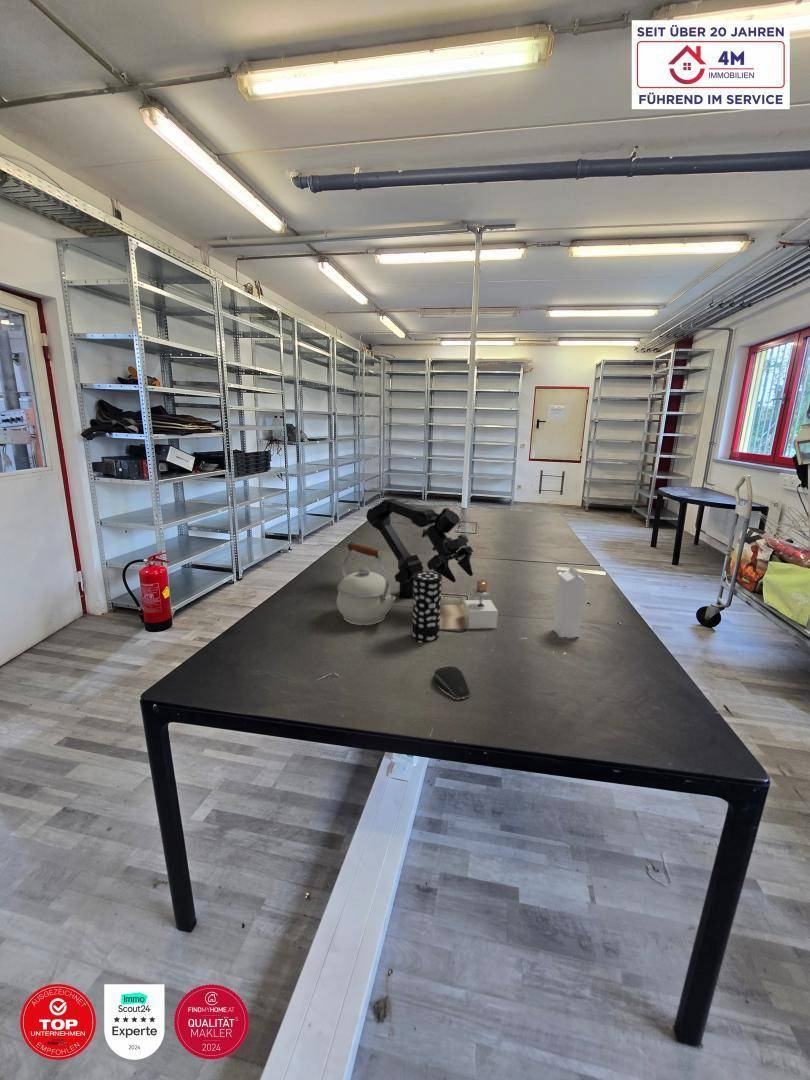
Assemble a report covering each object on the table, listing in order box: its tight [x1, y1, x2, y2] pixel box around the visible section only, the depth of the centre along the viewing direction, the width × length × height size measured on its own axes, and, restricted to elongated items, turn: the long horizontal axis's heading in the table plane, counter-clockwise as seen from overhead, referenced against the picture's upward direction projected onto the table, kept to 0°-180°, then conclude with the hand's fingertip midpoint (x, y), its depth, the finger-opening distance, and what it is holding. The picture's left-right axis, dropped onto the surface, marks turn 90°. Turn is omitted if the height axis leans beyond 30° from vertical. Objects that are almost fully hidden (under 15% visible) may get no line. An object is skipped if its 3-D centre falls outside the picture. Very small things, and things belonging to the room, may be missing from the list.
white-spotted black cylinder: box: [411, 570, 443, 644], centre depth 133 cm, size 8×8×20 cm
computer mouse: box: [433, 666, 471, 698], centre depth 110 cm, size 7×12×4 cm, turn 24°
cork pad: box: [439, 604, 480, 630], centre depth 150 cm, size 19×19×1 cm
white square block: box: [463, 599, 499, 629], centre depth 145 cm, size 9×9×6 cm
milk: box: [552, 565, 587, 638], centre depth 137 cm, size 6×6×22 cm
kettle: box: [336, 541, 396, 626], centre depth 145 cm, size 25×18×25 cm
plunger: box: [473, 580, 491, 607], centre depth 143 cm, size 5×5×9 cm
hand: (463, 578), depth 147 cm, fingers open, 9 cm apart
